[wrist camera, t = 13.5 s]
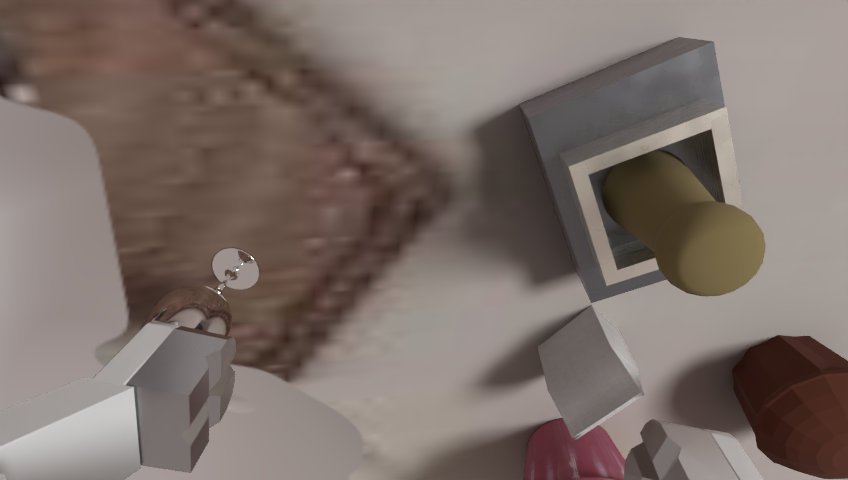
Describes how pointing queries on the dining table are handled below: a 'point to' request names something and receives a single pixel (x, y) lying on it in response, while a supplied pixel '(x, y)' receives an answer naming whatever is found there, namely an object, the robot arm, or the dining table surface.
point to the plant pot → (572, 455)
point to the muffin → (797, 404)
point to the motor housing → (629, 150)
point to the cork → (684, 224)
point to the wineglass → (208, 295)
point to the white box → (589, 371)
